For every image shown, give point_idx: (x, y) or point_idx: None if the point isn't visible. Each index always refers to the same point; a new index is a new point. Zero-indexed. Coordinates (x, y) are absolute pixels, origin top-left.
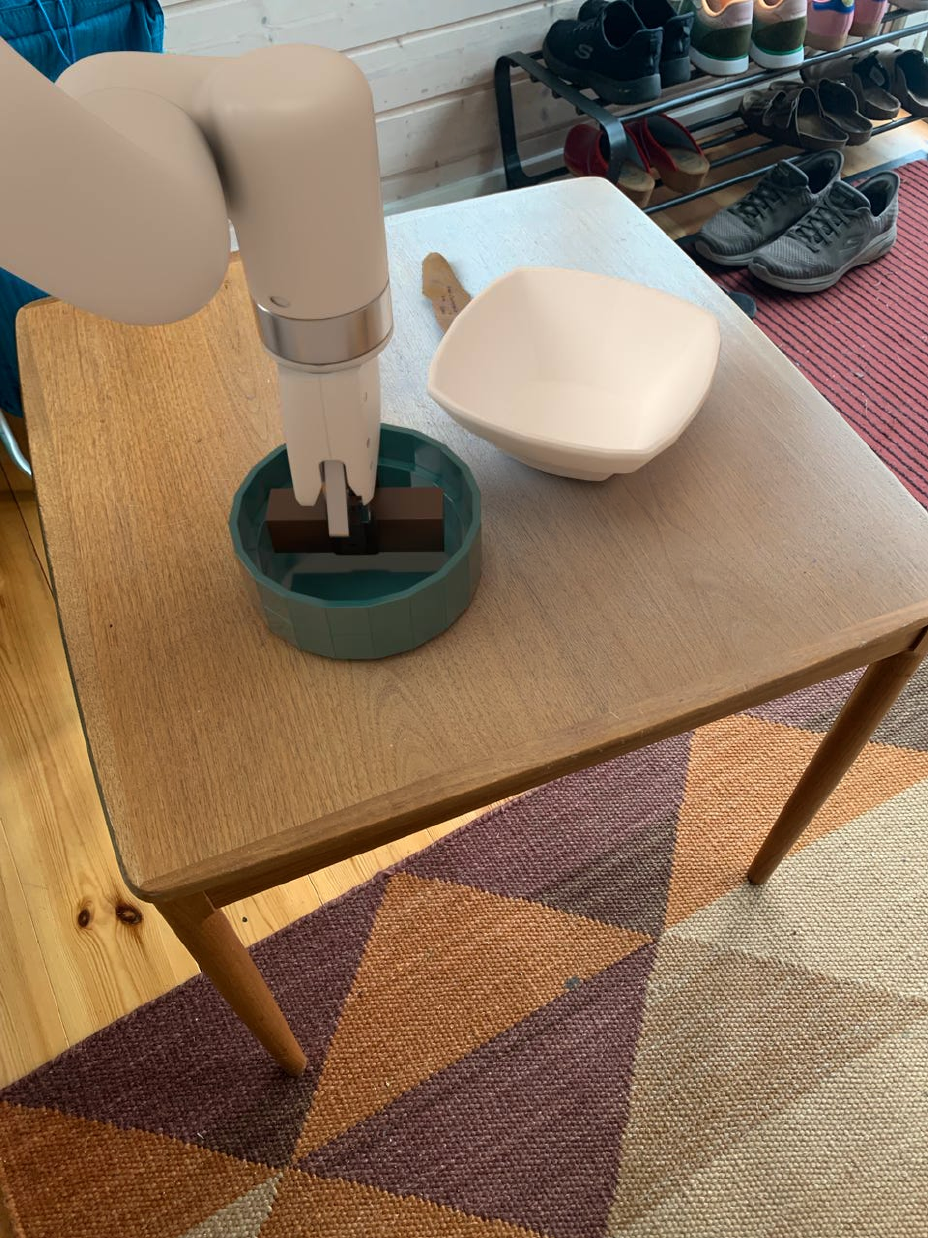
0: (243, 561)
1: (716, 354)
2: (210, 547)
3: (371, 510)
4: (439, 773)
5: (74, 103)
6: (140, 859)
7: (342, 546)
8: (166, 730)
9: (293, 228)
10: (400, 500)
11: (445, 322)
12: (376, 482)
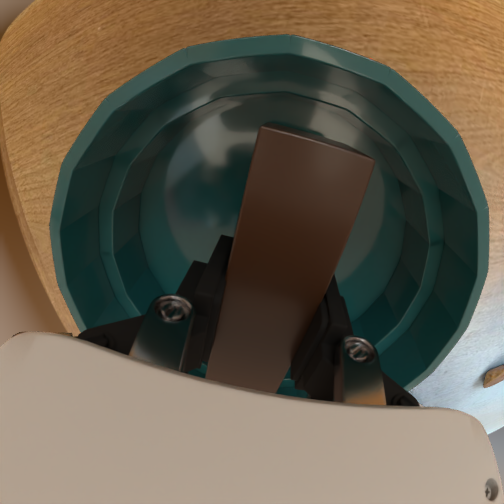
0: (152, 68)
1: None
2: (372, 35)
3: (199, 365)
4: (38, 254)
5: None
6: (8, 30)
7: (190, 268)
8: (89, 4)
9: None
10: (247, 383)
11: None
12: (290, 374)
